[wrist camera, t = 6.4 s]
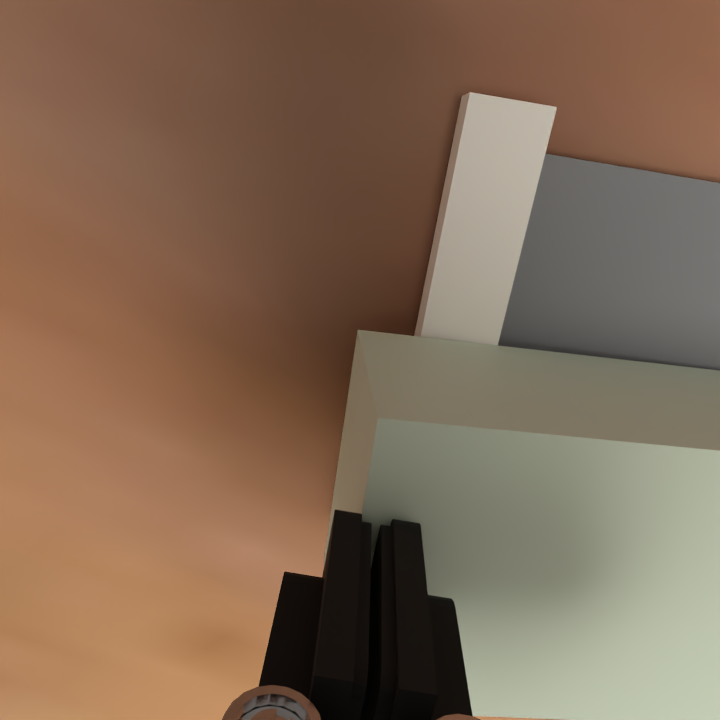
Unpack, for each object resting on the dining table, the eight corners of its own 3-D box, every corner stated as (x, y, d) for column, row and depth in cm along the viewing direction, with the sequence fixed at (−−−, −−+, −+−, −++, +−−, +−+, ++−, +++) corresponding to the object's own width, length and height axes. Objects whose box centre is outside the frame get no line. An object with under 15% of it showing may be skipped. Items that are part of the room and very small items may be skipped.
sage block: (378, 417, 11) (971, 475, 12) (357, 329, 16) (790, 378, 17) (328, 710, 13) (830, 729, 15) (324, 558, 18) (705, 583, 19)
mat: (531, 151, 16) (536, 151, 15) (984, 228, 16) (1006, 231, 16) (413, 637, 21) (414, 651, 21) (753, 688, 22) (763, 703, 21)
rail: (462, 95, 15) (469, 91, 14) (540, 109, 15) (557, 106, 14) (351, 651, 22) (349, 688, 20) (408, 660, 22) (410, 696, 20)
